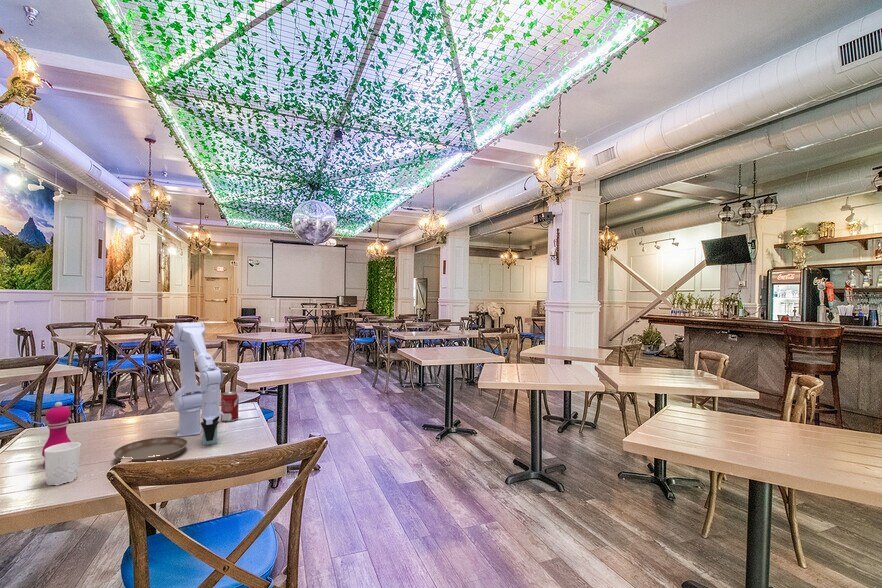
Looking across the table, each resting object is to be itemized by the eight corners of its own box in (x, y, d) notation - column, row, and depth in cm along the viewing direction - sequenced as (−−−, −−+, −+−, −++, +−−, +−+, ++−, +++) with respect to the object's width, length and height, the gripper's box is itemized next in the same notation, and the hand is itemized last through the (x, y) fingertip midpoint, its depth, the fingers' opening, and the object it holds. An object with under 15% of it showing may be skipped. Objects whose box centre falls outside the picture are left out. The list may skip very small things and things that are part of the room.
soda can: (230, 423, 176) (231, 395, 176) (217, 421, 177) (217, 394, 177) (241, 418, 182) (242, 391, 182) (228, 417, 184) (228, 390, 184)
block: (203, 441, 154) (203, 427, 154) (217, 439, 156) (217, 426, 156) (202, 445, 150) (202, 431, 150) (216, 443, 152) (216, 429, 152)
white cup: (87, 474, 124) (87, 442, 124) (64, 487, 116) (64, 452, 116) (60, 474, 124) (61, 442, 124) (35, 487, 116) (36, 452, 116)
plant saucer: (192, 442, 153) (192, 433, 153) (180, 463, 134) (181, 453, 134) (125, 449, 145) (125, 439, 145) (103, 473, 126) (103, 462, 126)
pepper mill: (70, 457, 137) (71, 397, 137) (74, 463, 132) (75, 401, 132) (40, 464, 131) (41, 402, 131) (43, 470, 127) (44, 406, 127)
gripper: (222, 405, 148) (221, 443, 148) (223, 396, 161) (222, 430, 161) (199, 407, 145) (198, 446, 145) (203, 398, 158) (202, 433, 158)
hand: (210, 438), depth 153 cm, fingers closed on block, 4 cm apart
